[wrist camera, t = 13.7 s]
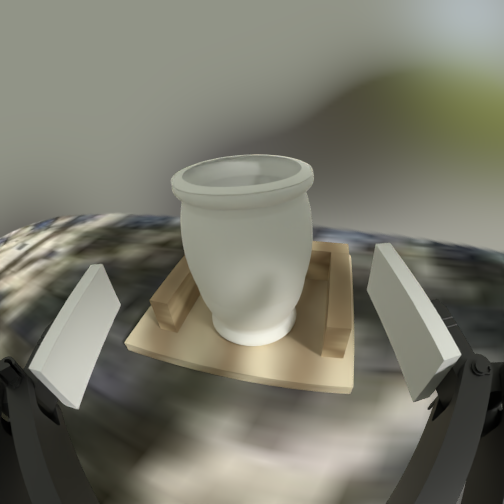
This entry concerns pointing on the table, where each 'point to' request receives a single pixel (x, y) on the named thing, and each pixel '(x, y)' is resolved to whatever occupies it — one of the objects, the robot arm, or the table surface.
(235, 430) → the table surface
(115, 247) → the table surface
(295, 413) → the table surface
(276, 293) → the jar
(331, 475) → the table surface
